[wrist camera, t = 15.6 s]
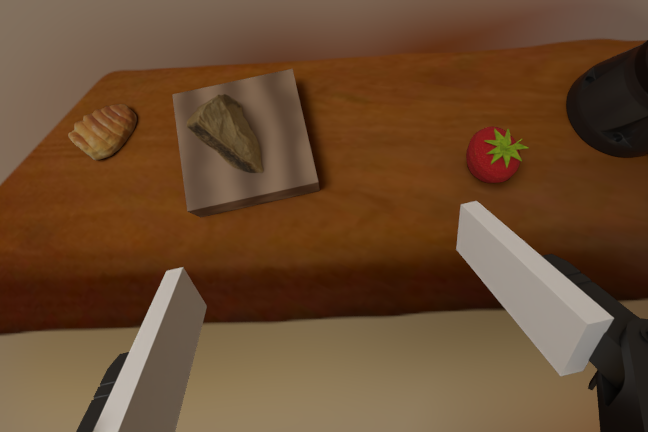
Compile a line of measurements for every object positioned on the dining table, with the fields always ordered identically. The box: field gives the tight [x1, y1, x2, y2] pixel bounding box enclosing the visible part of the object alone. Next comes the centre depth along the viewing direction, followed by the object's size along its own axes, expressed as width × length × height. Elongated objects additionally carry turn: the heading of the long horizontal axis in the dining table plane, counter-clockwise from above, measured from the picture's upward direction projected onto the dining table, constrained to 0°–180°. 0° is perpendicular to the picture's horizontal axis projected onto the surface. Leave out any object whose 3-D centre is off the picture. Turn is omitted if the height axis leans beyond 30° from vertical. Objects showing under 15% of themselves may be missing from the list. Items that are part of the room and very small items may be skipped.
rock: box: [186, 94, 263, 173], centre depth 38 cm, size 11×9×10 cm
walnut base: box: [173, 69, 320, 217], centre depth 43 cm, size 18×18×4 cm
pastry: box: [68, 104, 137, 160], centre depth 45 cm, size 9×7×4 cm
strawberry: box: [466, 127, 529, 183], centre depth 39 cm, size 6×8×10 cm
